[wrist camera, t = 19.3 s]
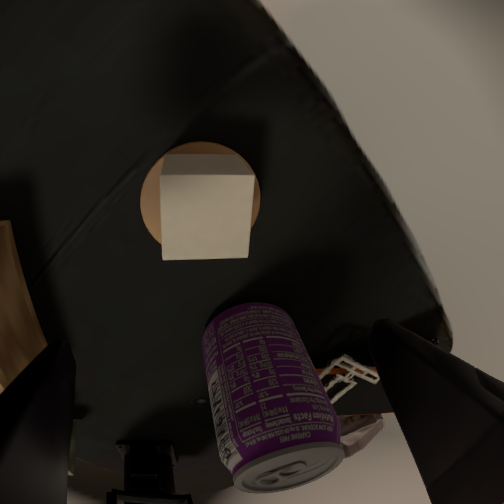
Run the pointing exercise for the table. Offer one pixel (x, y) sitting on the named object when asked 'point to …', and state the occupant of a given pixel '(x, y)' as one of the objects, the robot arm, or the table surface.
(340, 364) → the model
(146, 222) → the coaster
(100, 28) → the table surface
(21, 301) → the cabinet
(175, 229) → the block
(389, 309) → the table surface
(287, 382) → the beverage can
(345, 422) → the dental mold
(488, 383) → the robot arm
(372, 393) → the smartphone
